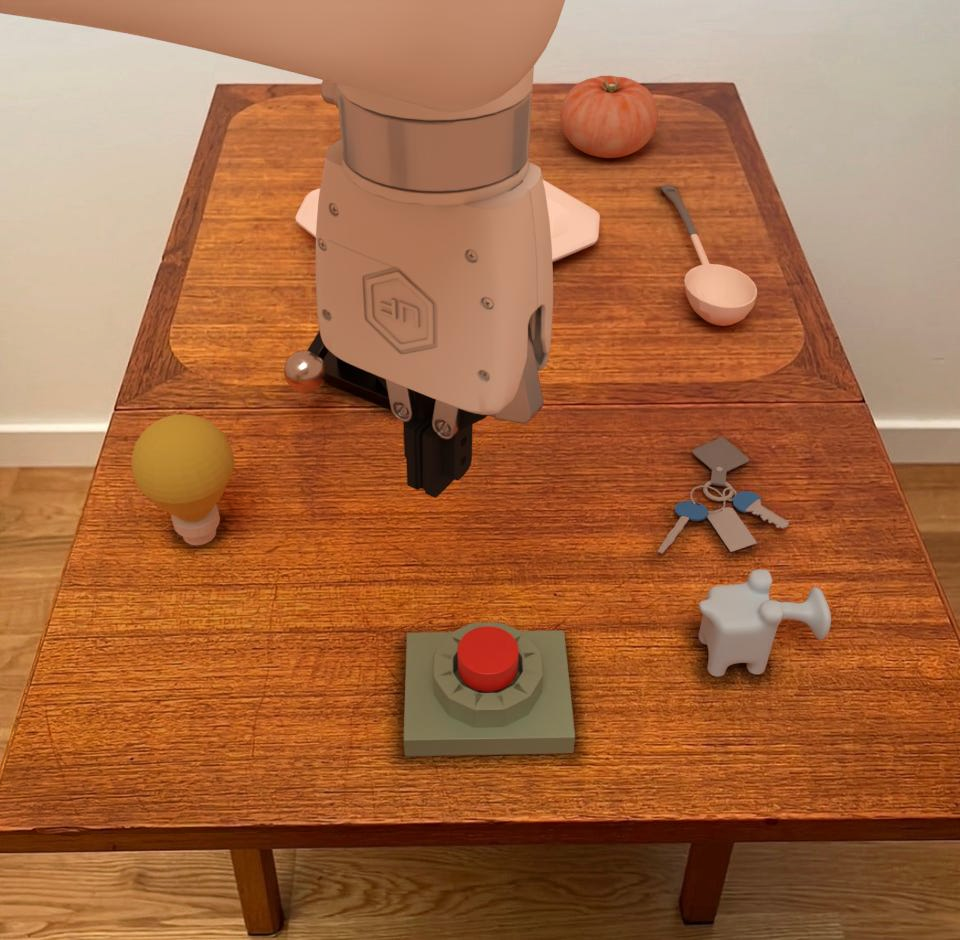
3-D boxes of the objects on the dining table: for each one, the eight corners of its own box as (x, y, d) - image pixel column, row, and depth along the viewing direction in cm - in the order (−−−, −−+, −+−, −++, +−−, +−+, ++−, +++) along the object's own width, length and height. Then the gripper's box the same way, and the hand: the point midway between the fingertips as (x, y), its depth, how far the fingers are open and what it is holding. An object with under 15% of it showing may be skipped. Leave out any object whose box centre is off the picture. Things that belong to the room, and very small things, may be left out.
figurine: (820, 674, 69) (842, 611, 65) (695, 681, 69) (709, 618, 65) (801, 625, 72) (821, 562, 68) (682, 632, 72) (695, 568, 68)
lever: (319, 405, 84) (303, 385, 81) (286, 391, 85) (269, 372, 82) (401, 269, 87) (388, 246, 84) (368, 258, 88) (355, 234, 85)
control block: (404, 756, 65) (402, 722, 62) (407, 649, 70) (405, 613, 68) (573, 753, 65) (577, 718, 62) (562, 646, 71) (565, 611, 68)
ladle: (695, 343, 94) (699, 291, 92) (637, 227, 118) (639, 184, 116) (765, 339, 95) (771, 287, 92) (693, 224, 118) (697, 181, 116)
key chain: (698, 436, 86) (699, 428, 86) (803, 461, 84) (806, 453, 83) (654, 557, 76) (656, 548, 76) (773, 588, 74) (775, 580, 74)
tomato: (589, 180, 118) (595, 108, 112) (540, 139, 125) (543, 70, 120) (673, 159, 121) (682, 89, 116) (621, 121, 129) (627, 54, 123)
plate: (419, 334, 96) (419, 313, 95) (276, 221, 111) (274, 201, 109) (624, 245, 108) (626, 225, 106) (470, 154, 122) (470, 135, 121)
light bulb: (139, 565, 76) (107, 457, 69) (165, 499, 81) (137, 392, 74) (235, 570, 75) (213, 461, 69) (255, 502, 80) (236, 395, 74)
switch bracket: (398, 413, 88) (391, 289, 80) (300, 373, 92) (284, 251, 84) (452, 363, 93) (450, 241, 85) (357, 327, 97) (347, 207, 89)
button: (458, 693, 64) (457, 674, 63) (457, 644, 67) (457, 626, 66) (519, 692, 64) (520, 673, 63) (516, 643, 67) (517, 625, 66)
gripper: (227, 116, 44) (275, 464, 56) (554, 218, 38) (528, 582, 50) (343, 58, 48) (363, 390, 61) (648, 141, 43) (604, 490, 55)
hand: (438, 476), depth 55 cm, fingers closed
